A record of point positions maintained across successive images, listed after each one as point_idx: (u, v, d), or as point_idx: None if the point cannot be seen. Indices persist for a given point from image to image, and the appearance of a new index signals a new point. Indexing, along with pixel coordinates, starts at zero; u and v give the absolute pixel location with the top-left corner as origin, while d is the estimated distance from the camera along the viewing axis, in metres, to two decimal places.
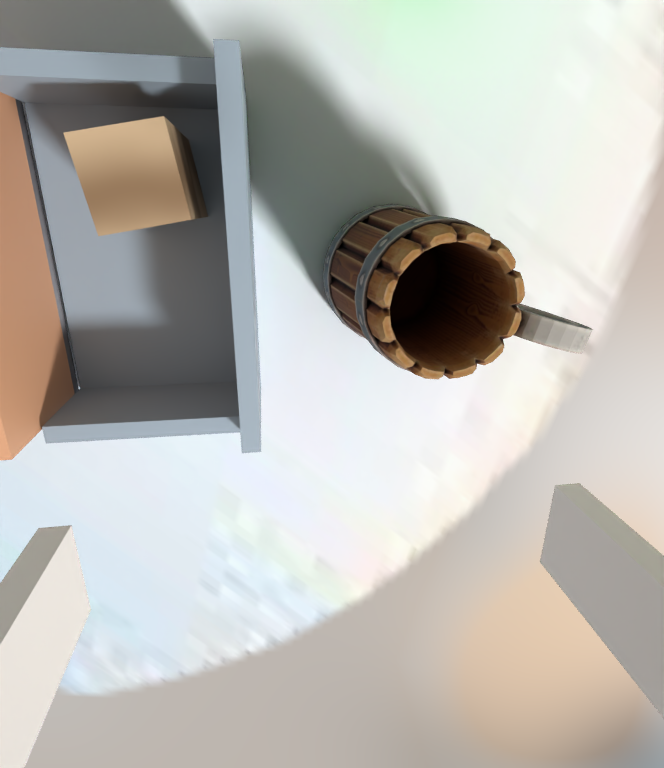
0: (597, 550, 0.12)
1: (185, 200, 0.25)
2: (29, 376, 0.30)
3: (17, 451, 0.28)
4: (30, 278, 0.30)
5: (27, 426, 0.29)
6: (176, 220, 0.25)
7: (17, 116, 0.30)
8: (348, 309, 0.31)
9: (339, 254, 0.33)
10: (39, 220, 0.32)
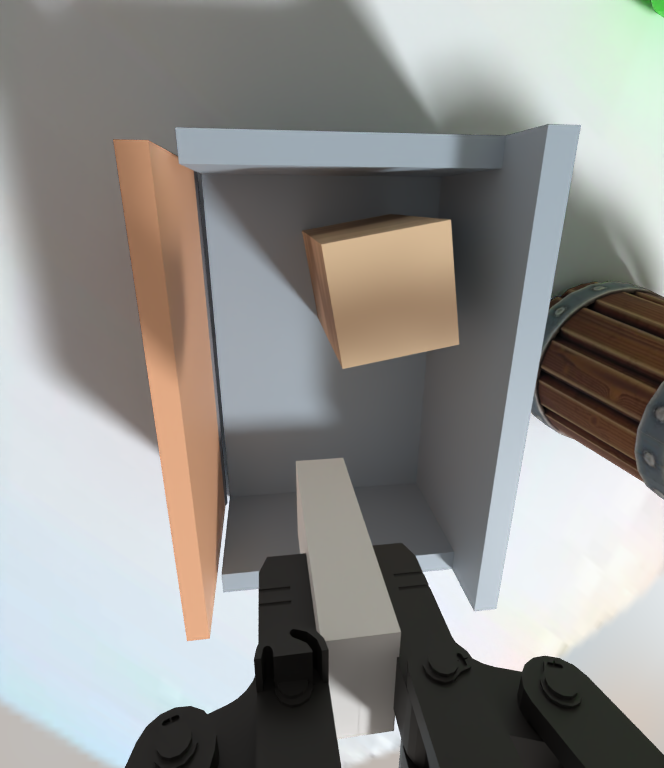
0: None
1: (456, 321, 0.19)
2: (211, 517, 0.24)
3: (210, 622, 0.22)
4: (207, 391, 0.24)
5: (212, 582, 0.23)
6: (441, 346, 0.19)
7: (194, 191, 0.24)
8: (594, 426, 0.25)
9: (562, 348, 0.27)
10: (206, 313, 0.26)
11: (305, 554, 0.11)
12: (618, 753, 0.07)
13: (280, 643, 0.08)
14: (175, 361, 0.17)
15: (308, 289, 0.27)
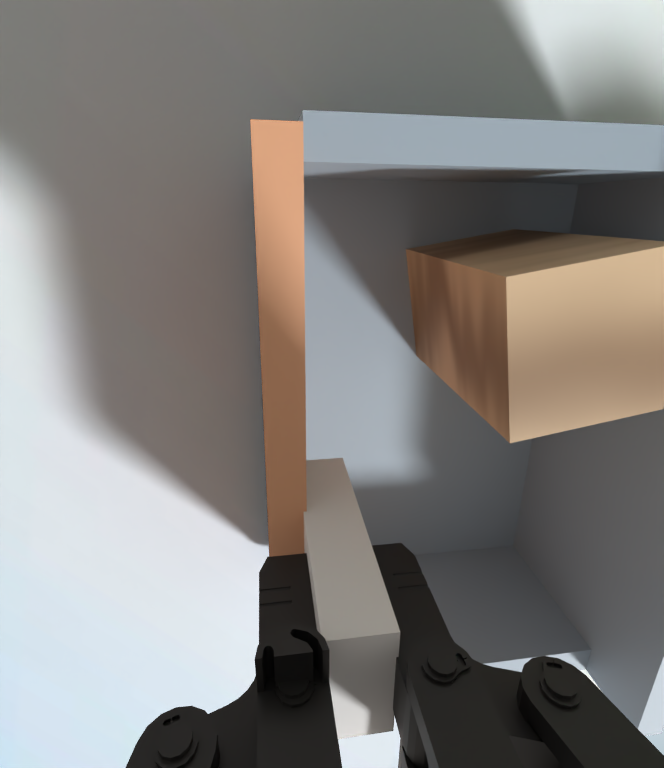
0: None
1: None
2: None
3: None
4: None
5: None
6: (640, 412, 0.14)
7: None
8: None
9: None
10: None
11: (306, 554, 0.11)
12: (617, 753, 0.07)
13: (281, 643, 0.08)
14: (305, 446, 0.11)
15: (407, 320, 0.22)
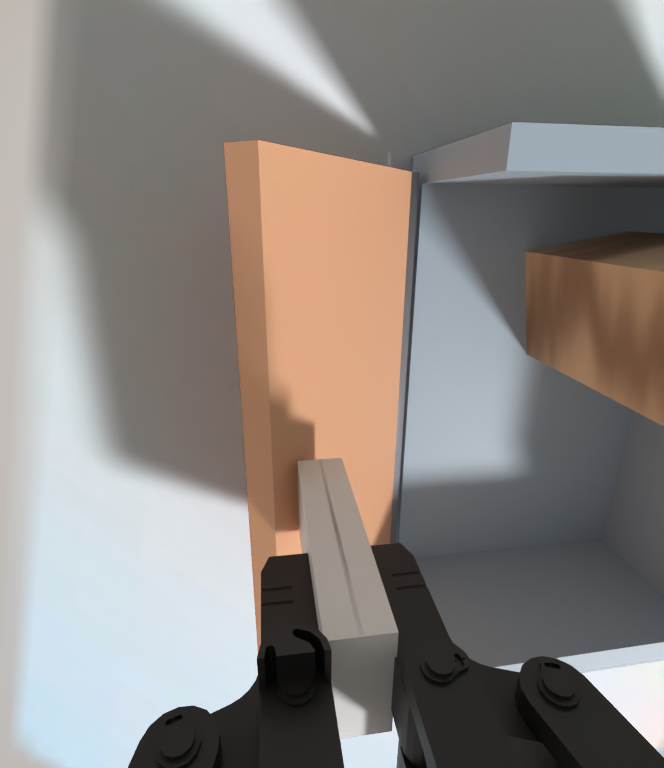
0: None
1: None
2: None
3: None
4: (370, 447, 0.20)
5: None
6: None
7: (408, 204, 0.19)
8: None
9: None
10: (400, 352, 0.21)
11: (307, 554, 0.11)
12: (615, 753, 0.07)
13: (283, 643, 0.08)
14: (271, 423, 0.13)
15: (521, 320, 0.22)
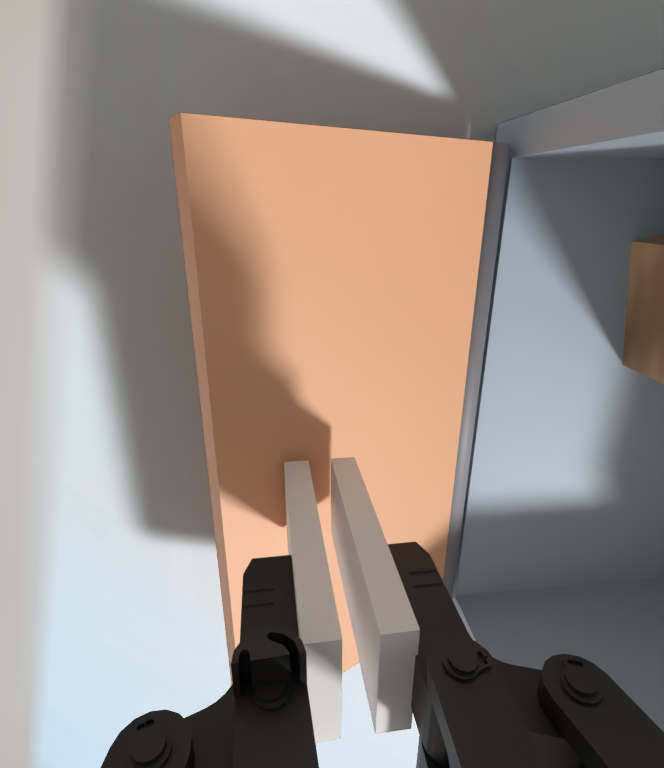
0: (341, 513, 0.13)
1: None
2: None
3: None
4: (400, 463, 0.18)
5: None
6: None
7: (487, 183, 0.16)
8: None
9: None
10: (466, 363, 0.18)
11: (290, 556, 0.11)
12: (639, 751, 0.07)
13: (257, 646, 0.08)
14: (213, 407, 0.13)
15: (619, 324, 0.19)
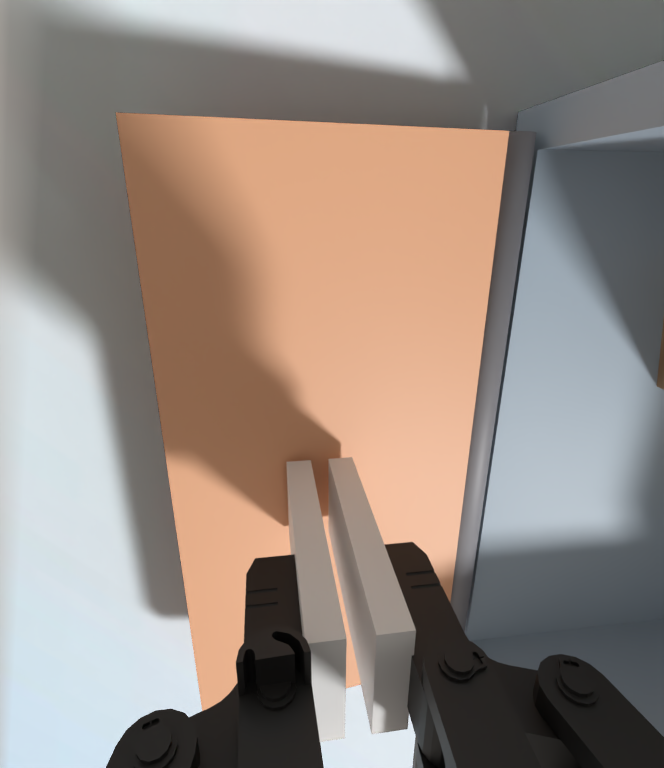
0: (338, 514, 0.13)
1: None
2: None
3: None
4: (386, 488, 0.16)
5: None
6: None
7: (503, 179, 0.13)
8: None
9: None
10: (476, 386, 0.16)
11: (293, 555, 0.11)
12: (634, 751, 0.07)
13: (262, 646, 0.08)
14: (160, 403, 0.13)
15: (654, 341, 0.16)
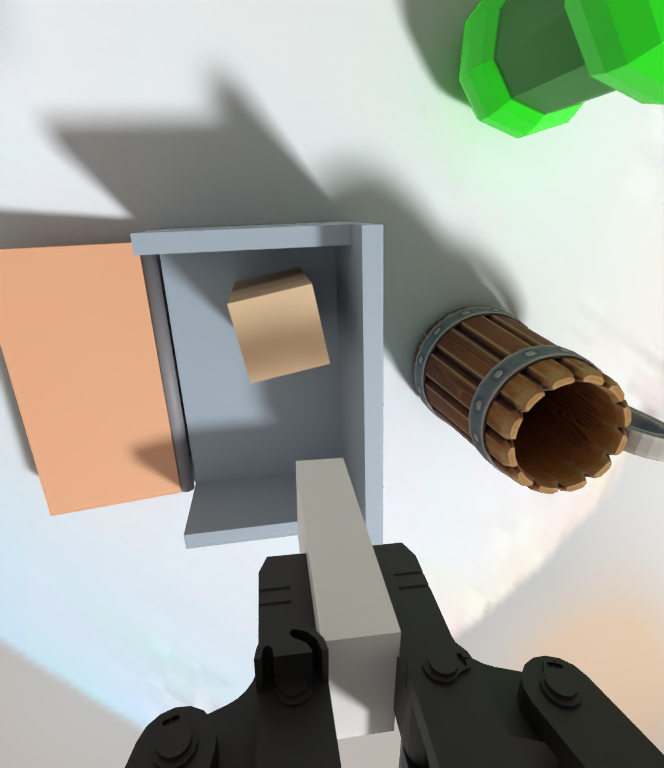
0: None
1: (325, 348, 0.28)
2: (95, 466, 0.37)
3: (60, 512, 0.37)
4: (121, 394, 0.36)
5: (81, 499, 0.38)
6: (317, 365, 0.29)
7: (141, 260, 0.33)
8: (453, 416, 0.34)
9: (436, 359, 0.37)
10: (155, 346, 0.35)
11: (305, 554, 0.11)
12: (618, 753, 0.07)
13: (280, 643, 0.08)
14: (4, 355, 0.33)
15: None
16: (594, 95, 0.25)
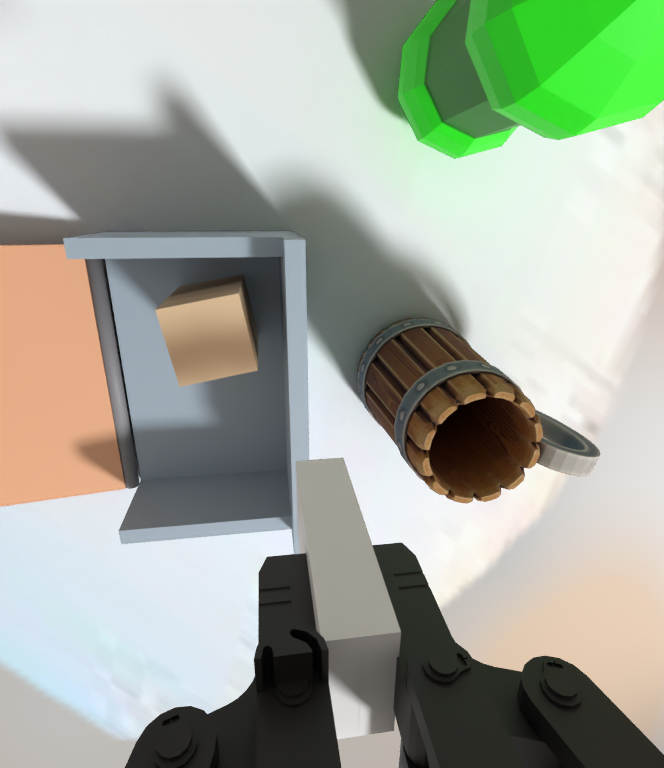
0: None
1: (253, 356, 0.29)
2: (39, 460, 0.38)
3: (3, 504, 0.38)
4: (64, 391, 0.37)
5: (24, 492, 0.38)
6: (245, 371, 0.30)
7: (86, 261, 0.34)
8: (385, 425, 0.35)
9: (374, 369, 0.38)
10: (100, 345, 0.36)
11: (305, 554, 0.11)
12: (618, 753, 0.07)
13: (280, 643, 0.08)
14: None
15: None
16: (510, 125, 0.26)
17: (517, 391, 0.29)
